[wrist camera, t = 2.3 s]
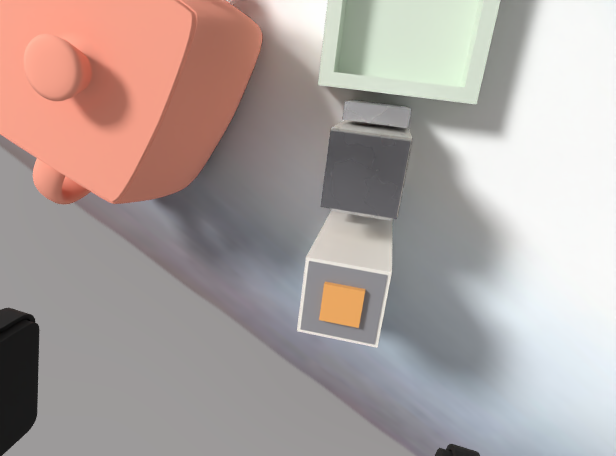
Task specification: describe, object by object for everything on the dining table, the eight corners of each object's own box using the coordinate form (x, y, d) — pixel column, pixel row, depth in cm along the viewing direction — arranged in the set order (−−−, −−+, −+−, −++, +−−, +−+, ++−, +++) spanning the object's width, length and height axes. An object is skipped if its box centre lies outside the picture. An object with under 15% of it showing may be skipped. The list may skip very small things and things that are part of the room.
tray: (508, -69, 29) (520, -86, 26) (469, 103, 32) (476, 104, 30) (344, -79, 30) (339, -97, 28) (324, 85, 34) (317, 85, 31)
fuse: (392, 215, 36) (391, 275, 24) (382, 270, 38) (377, 351, 26) (333, 206, 37) (304, 259, 25) (325, 260, 38) (295, 334, 27)
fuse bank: (411, 107, 33) (418, 113, 24) (377, 293, 38) (371, 357, 29) (349, 99, 34) (332, 102, 25) (323, 283, 39) (301, 342, 30)
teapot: (81, -137, 33) (-125, -287, 20) (300, 2, 33) (238, -57, 20) (11, 101, 40) (-176, 106, 27) (191, 216, 40) (92, 276, 27)
